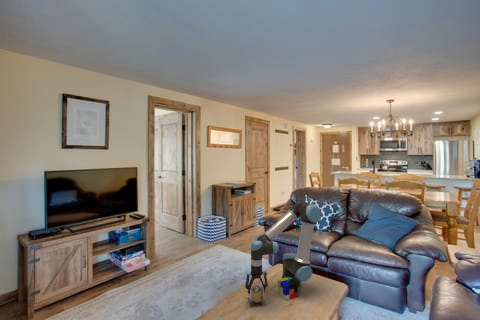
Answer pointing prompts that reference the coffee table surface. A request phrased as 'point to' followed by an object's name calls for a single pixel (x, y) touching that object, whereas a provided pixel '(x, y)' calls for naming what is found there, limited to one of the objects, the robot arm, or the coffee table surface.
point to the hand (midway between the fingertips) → (256, 297)
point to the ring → (256, 294)
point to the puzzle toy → (287, 288)
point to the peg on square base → (259, 303)
